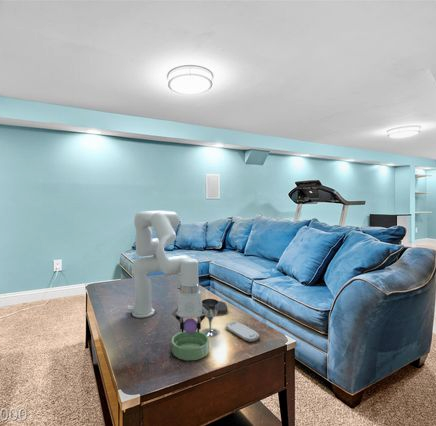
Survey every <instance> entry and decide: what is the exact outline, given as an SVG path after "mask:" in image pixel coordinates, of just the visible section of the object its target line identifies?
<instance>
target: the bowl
mask: <svg viewBox="0 0 436 426" xmlns="http://www.w3.org/2000/svg"><path fill="white" fill-rule="evenodd" d="M209 352H210V336H207V335H206V334H204V333H203V331H199V332H197V330H196V331H195V332H194V333H192V334H189V333H187V332H185V330H184V331H183V332H182V331H179V332H177V333H175V334H174V335H173V336H172V337H171V353H172V355H173V356H175V358H177V359H178V360H179V359H180V360H182V361H197V360H201V359H202V358H205V357H207V355H208V354H209Z"/></svg>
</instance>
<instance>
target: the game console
mask: <svg viewBox="0 0 436 426" xmlns="http://www.w3.org/2000/svg"><path fill="white" fill-rule="evenodd" d="M225 328H226V329H227V330H228V331H229V332H231V333H233V334H234V335H236V336H238V337H239V338H241V339H242V340H244V341H246V342H250V343H251V342H256V341H258V340H259V338H260V334H259V333H258V332H257V331H256V330H254V329H253V328H251V327H248V326H247V325H245V324H243V323H242V322H239V321H229V322H227V323H226V325H225Z"/></svg>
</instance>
